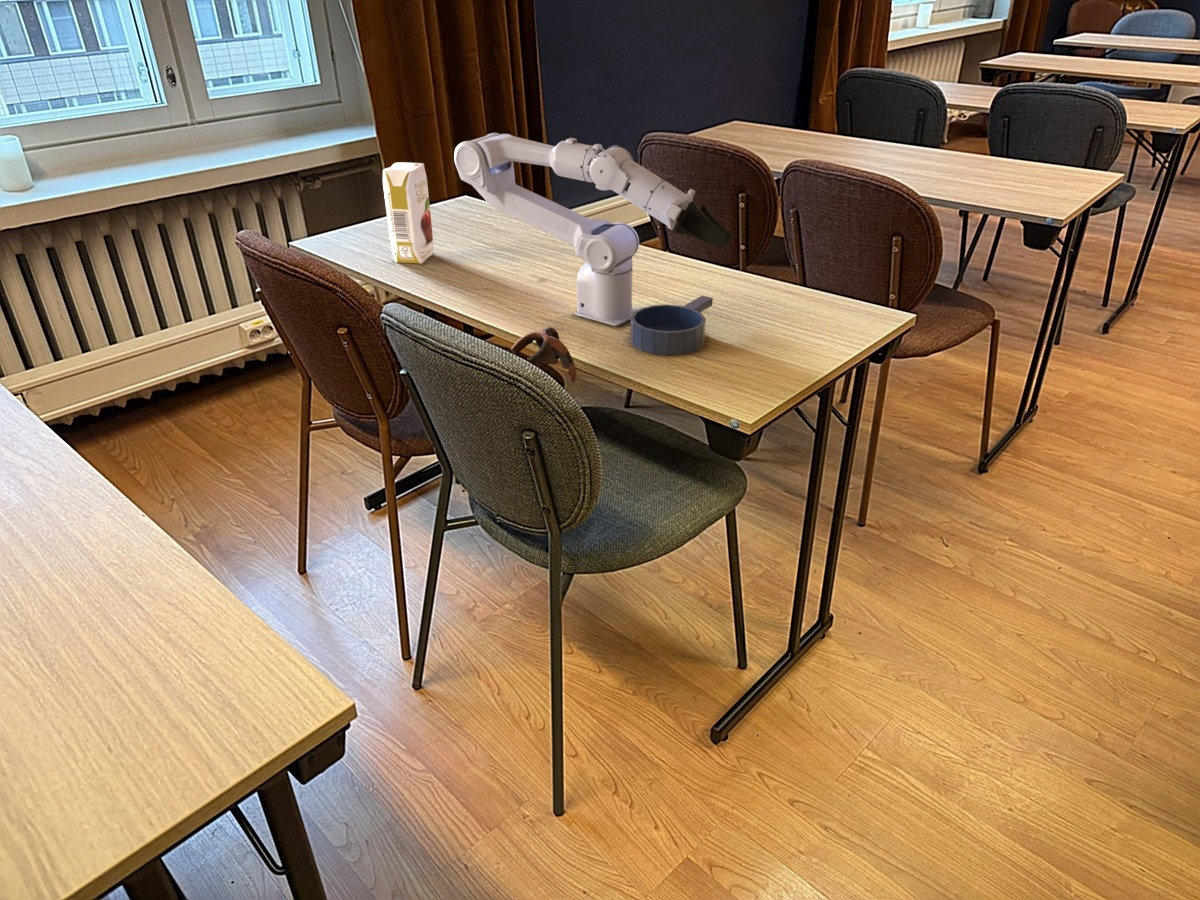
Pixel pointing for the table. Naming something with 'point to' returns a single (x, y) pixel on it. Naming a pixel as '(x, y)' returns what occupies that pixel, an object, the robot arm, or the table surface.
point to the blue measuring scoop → (670, 327)
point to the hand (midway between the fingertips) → (725, 241)
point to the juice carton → (408, 212)
